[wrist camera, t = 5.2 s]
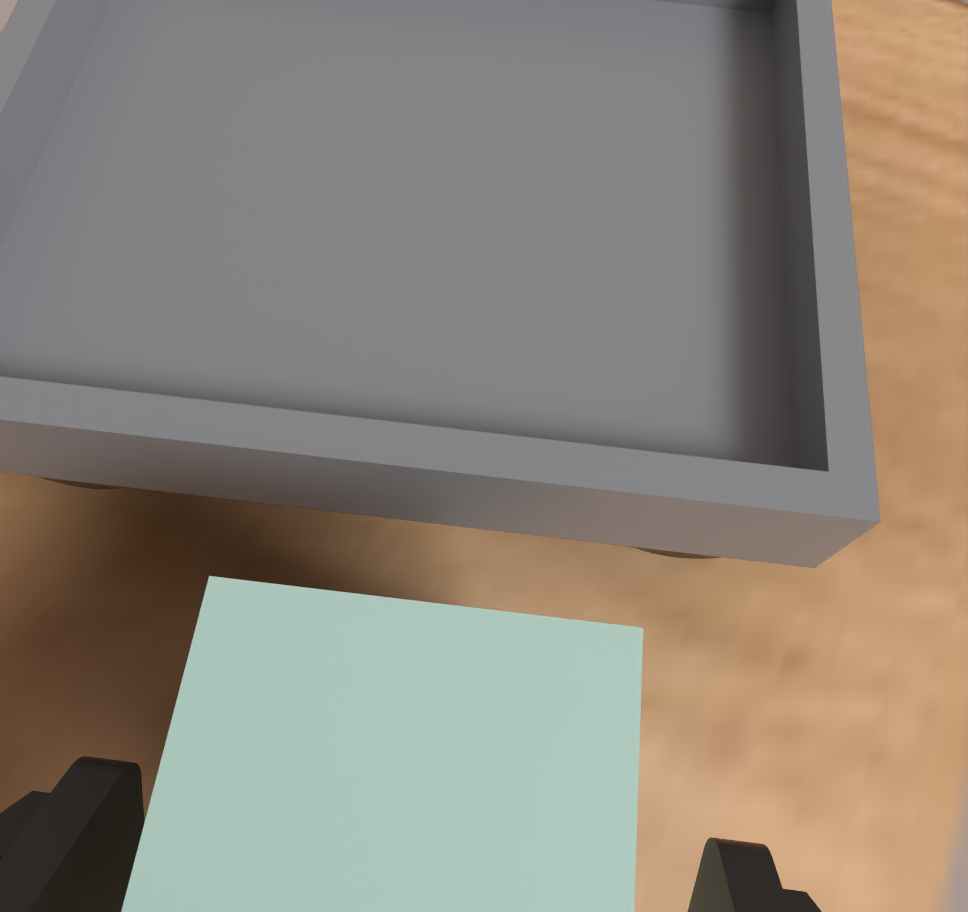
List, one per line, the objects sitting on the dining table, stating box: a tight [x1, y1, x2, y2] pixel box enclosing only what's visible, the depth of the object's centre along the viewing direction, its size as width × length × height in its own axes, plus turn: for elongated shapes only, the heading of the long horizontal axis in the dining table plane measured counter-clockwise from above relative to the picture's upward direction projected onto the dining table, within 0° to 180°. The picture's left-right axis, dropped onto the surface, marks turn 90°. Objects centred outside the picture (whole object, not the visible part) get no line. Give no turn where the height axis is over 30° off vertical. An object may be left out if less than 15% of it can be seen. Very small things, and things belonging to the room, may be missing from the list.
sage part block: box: [121, 576, 643, 912], centre depth 12 cm, size 5×5×9 cm
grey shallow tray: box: [0, 0, 881, 568], centre depth 19 cm, size 18×15×6 cm
